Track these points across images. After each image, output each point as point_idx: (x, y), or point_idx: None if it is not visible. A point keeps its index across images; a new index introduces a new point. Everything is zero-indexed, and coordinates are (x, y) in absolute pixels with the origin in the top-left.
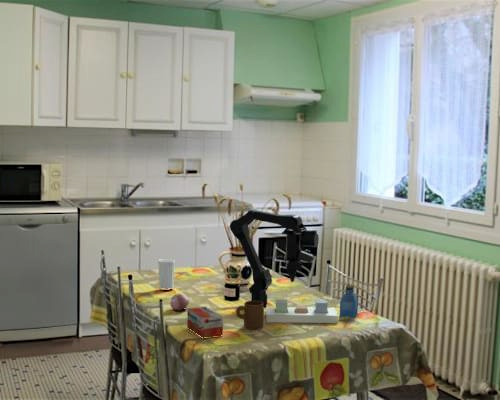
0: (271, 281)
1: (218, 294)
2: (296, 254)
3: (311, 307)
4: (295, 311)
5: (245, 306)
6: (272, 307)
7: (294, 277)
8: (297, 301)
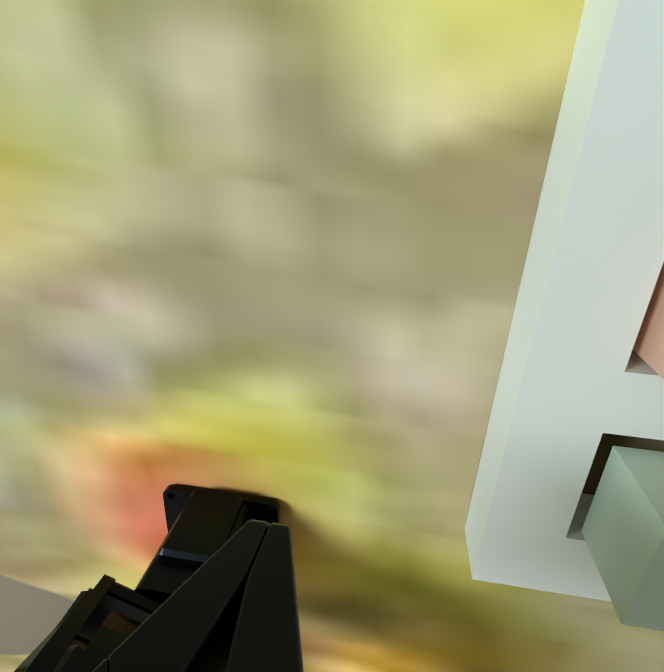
0: (90, 664)
1: (6, 664)
2: None
3: (590, 141)
4: (637, 351)
5: None
6: (506, 542)
7: (296, 618)
8: (31, 214)
